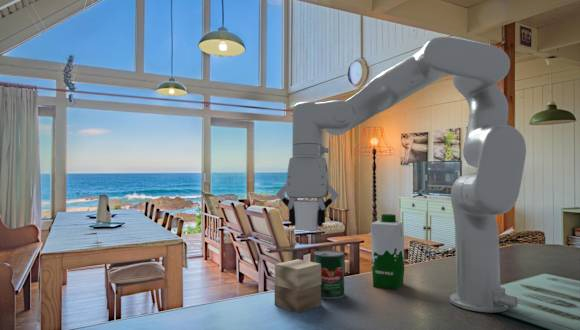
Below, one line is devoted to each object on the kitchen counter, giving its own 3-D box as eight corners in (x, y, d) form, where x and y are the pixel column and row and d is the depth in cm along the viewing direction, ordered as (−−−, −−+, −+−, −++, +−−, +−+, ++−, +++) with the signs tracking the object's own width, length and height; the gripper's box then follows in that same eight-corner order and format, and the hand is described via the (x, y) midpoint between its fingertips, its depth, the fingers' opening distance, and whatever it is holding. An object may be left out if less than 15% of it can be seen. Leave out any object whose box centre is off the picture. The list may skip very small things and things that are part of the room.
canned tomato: (332, 288, 104) (332, 249, 105) (350, 296, 97) (350, 253, 98) (308, 293, 100) (308, 251, 101) (325, 301, 93) (325, 256, 94)
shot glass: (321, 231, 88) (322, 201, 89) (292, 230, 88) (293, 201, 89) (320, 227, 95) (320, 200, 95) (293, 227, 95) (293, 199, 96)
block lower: (321, 305, 91) (320, 284, 91) (297, 313, 85) (297, 291, 85) (298, 298, 96) (297, 278, 97) (274, 305, 91) (274, 284, 91)
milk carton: (406, 283, 109) (405, 214, 110) (400, 291, 101) (399, 217, 102) (377, 279, 113) (375, 213, 114) (368, 287, 105) (367, 216, 106)
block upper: (321, 284, 91) (321, 263, 91) (298, 291, 85) (298, 269, 86) (297, 278, 97) (297, 259, 97) (275, 284, 91) (274, 264, 91)
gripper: (343, 153, 94) (343, 225, 94) (277, 154, 98) (276, 222, 97) (341, 150, 87) (341, 228, 86) (269, 151, 91) (269, 226, 90)
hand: (307, 224), depth 92 cm, fingers closed on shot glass, 6 cm apart
